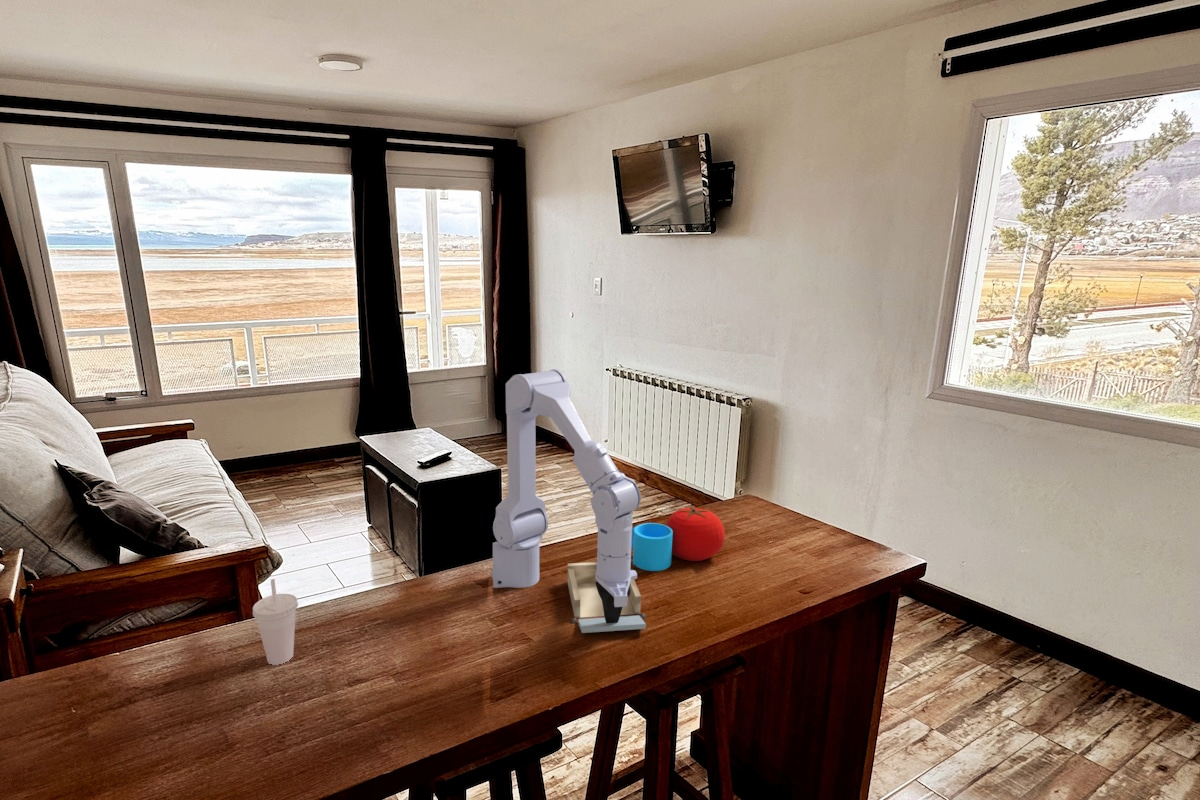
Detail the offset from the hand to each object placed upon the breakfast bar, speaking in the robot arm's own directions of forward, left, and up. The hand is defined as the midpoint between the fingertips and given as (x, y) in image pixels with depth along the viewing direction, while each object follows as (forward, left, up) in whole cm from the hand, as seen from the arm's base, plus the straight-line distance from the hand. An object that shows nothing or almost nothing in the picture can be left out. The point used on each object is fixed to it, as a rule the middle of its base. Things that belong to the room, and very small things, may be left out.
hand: (611, 622), depth 109 cm
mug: (+12, +26, -3) cm, 29 cm away
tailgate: (0, +3, -1) cm, 4 cm away
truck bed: (0, +11, -2) cm, 11 cm away
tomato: (+23, +28, -3) cm, 36 cm away
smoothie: (-54, 0, -3) cm, 54 cm away
